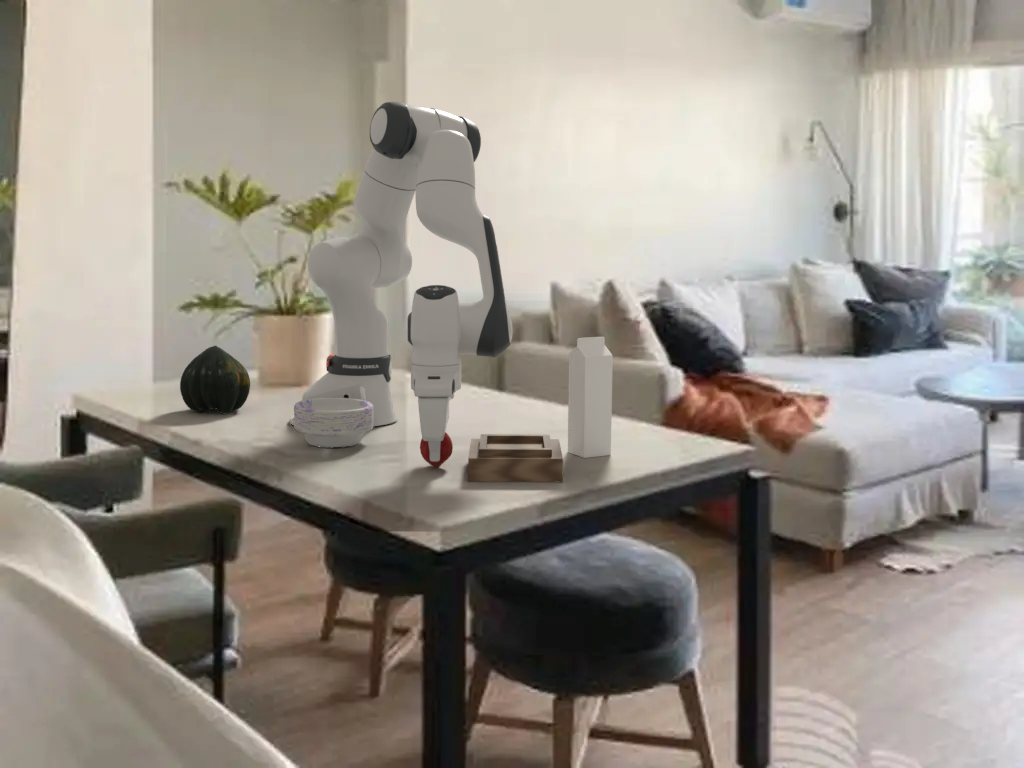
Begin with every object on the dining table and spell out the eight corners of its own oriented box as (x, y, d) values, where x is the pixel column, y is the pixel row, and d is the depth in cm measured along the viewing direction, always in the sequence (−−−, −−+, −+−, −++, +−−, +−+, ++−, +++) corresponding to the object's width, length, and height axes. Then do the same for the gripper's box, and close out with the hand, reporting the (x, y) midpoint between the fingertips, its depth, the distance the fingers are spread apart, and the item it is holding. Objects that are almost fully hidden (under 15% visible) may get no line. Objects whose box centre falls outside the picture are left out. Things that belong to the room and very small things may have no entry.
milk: (567, 452, 225) (568, 336, 221) (594, 449, 227) (596, 334, 224) (584, 458, 219) (585, 339, 216) (611, 455, 222) (613, 338, 219)
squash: (209, 396, 250) (238, 338, 258) (157, 392, 257) (186, 336, 265) (246, 431, 261) (272, 374, 268) (194, 427, 268) (221, 372, 275)
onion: (447, 472, 208) (447, 427, 207) (416, 470, 209) (415, 425, 208) (456, 464, 214) (456, 421, 212) (425, 463, 215) (424, 419, 213)
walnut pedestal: (468, 481, 202) (468, 451, 201) (471, 460, 217) (471, 432, 216) (562, 481, 202) (563, 452, 201) (558, 460, 217) (558, 432, 217)
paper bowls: (387, 446, 229) (386, 405, 227) (313, 455, 221) (312, 413, 219) (353, 432, 241) (352, 393, 240) (282, 440, 233) (281, 400, 232)
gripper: (422, 369, 219) (422, 443, 221) (413, 388, 199) (414, 469, 201) (456, 370, 219) (456, 443, 221) (451, 388, 199) (451, 469, 201)
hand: (436, 455), depth 211 cm, fingers closed on onion, 6 cm apart
